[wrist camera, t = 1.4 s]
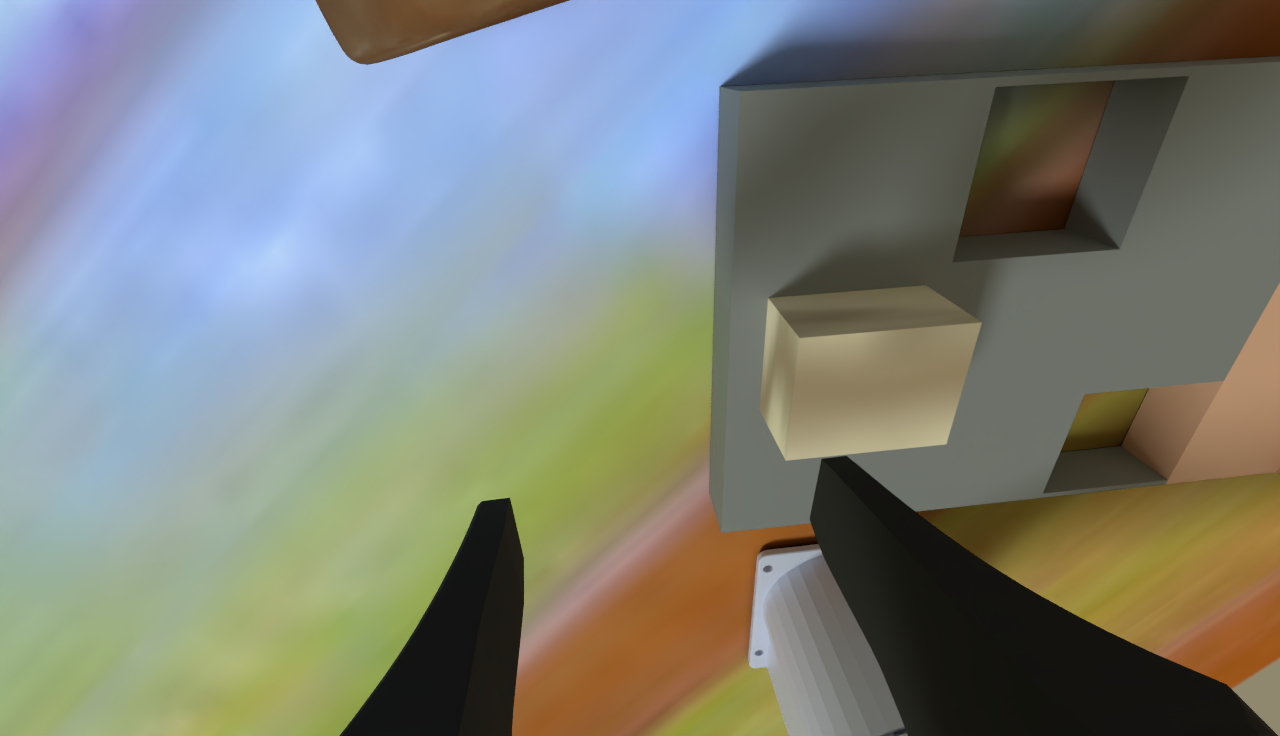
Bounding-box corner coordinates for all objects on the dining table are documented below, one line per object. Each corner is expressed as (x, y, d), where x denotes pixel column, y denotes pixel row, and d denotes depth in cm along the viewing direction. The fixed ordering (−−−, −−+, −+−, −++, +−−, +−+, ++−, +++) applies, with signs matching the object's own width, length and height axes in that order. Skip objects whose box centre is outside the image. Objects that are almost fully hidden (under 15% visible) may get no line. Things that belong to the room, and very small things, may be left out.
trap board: (1240, 437, 28) (1334, 492, 24) (709, 492, 26) (729, 560, 22) (1483, 44, 19) (1682, 43, 16) (719, 86, 17) (755, 94, 14)
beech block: (900, 396, 21) (946, 444, 19) (759, 409, 21) (785, 460, 18) (926, 285, 19) (982, 322, 16) (768, 297, 18) (799, 338, 16)
